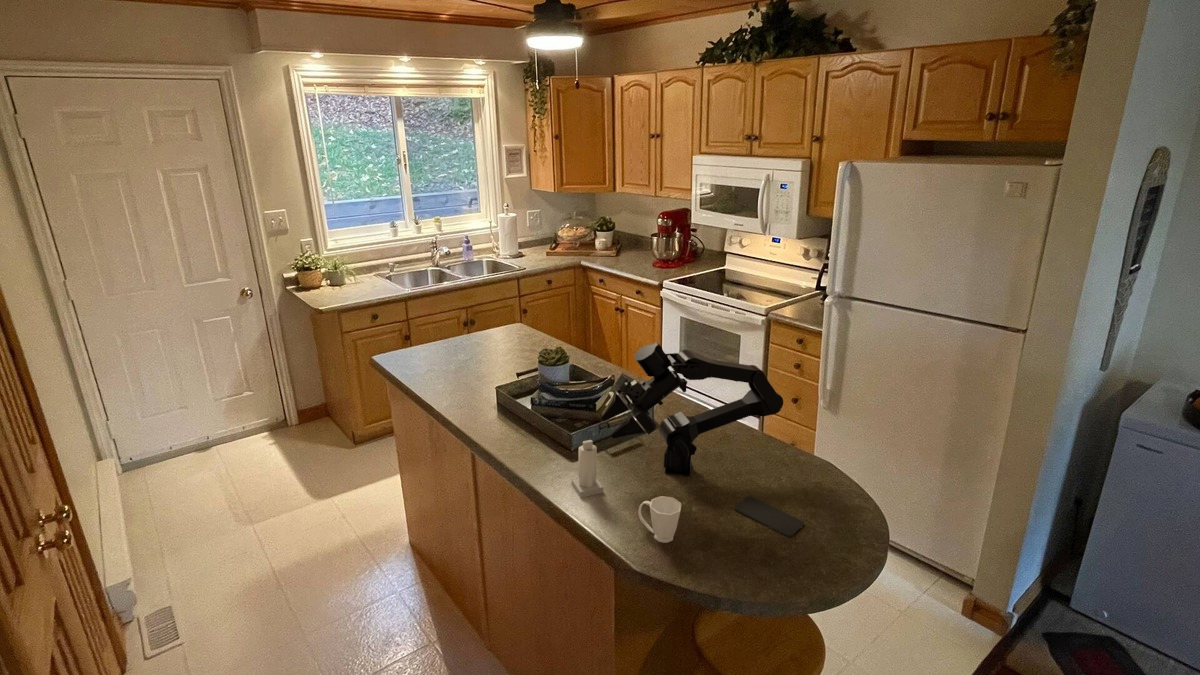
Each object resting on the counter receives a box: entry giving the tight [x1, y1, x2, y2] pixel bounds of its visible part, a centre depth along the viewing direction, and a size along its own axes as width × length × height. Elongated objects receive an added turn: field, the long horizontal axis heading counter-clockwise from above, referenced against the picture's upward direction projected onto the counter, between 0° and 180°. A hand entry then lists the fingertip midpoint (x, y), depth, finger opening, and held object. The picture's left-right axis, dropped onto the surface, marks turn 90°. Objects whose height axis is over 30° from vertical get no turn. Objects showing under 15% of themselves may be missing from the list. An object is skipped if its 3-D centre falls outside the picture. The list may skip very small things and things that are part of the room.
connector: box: [571, 439, 604, 498], centre depth 152 cm, size 6×6×13 cm
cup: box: [637, 495, 682, 544], centre depth 137 cm, size 7×10×8 cm
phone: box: [733, 495, 805, 537], centre depth 144 cm, size 7×1×15 cm
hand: (606, 428), depth 154 cm, fingers open, 9 cm apart
